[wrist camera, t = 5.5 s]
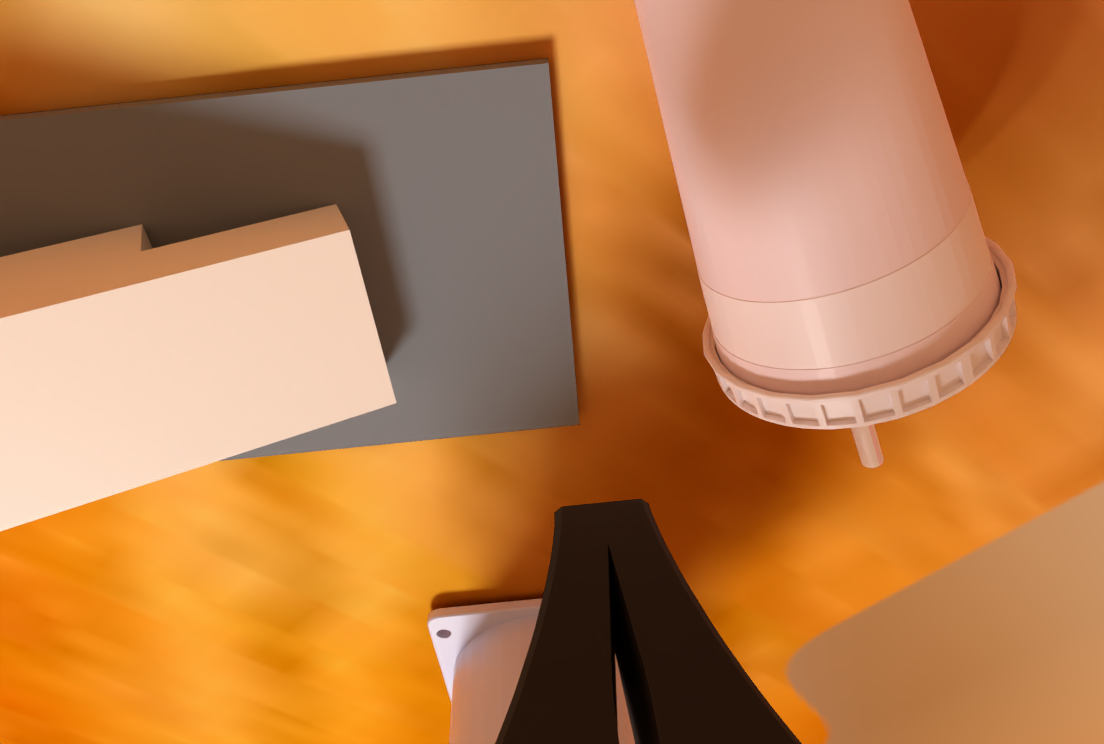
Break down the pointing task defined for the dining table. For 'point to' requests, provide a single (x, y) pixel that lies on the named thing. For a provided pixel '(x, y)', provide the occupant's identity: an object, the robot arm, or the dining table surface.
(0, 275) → the domino
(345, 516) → the dining table surface
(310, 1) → the dining table surface
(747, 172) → the smoothie
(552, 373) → the runner mat
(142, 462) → the domino
